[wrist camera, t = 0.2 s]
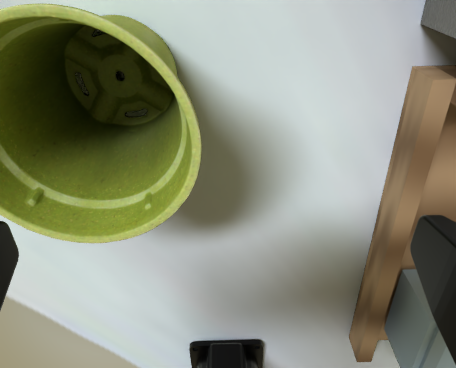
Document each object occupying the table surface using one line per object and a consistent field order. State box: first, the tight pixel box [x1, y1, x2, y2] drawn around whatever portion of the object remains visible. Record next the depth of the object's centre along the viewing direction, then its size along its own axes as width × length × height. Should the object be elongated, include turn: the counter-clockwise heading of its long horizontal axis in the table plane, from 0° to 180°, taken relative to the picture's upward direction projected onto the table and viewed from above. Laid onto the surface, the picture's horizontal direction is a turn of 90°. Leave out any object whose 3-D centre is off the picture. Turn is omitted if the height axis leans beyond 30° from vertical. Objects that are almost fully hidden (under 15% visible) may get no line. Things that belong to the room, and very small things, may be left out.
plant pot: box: [0, 4, 202, 243], centre depth 17 cm, size 9×9×9 cm
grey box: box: [384, 269, 456, 368], centre depth 28 cm, size 7×7×5 cm
